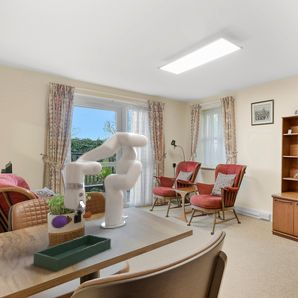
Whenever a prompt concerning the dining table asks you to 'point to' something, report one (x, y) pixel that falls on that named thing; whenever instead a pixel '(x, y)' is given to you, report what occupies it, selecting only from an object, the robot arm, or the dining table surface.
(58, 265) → the tray
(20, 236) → the dining table surface
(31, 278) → the dining table surface
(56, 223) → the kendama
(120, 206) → the robot arm
